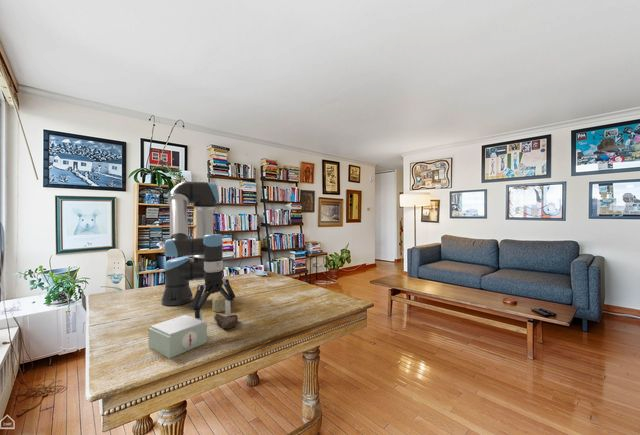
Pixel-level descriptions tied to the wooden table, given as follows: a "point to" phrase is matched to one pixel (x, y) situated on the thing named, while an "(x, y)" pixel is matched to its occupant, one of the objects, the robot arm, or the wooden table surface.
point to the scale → (177, 335)
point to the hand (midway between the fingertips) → (214, 320)
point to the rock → (226, 320)
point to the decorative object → (218, 303)
